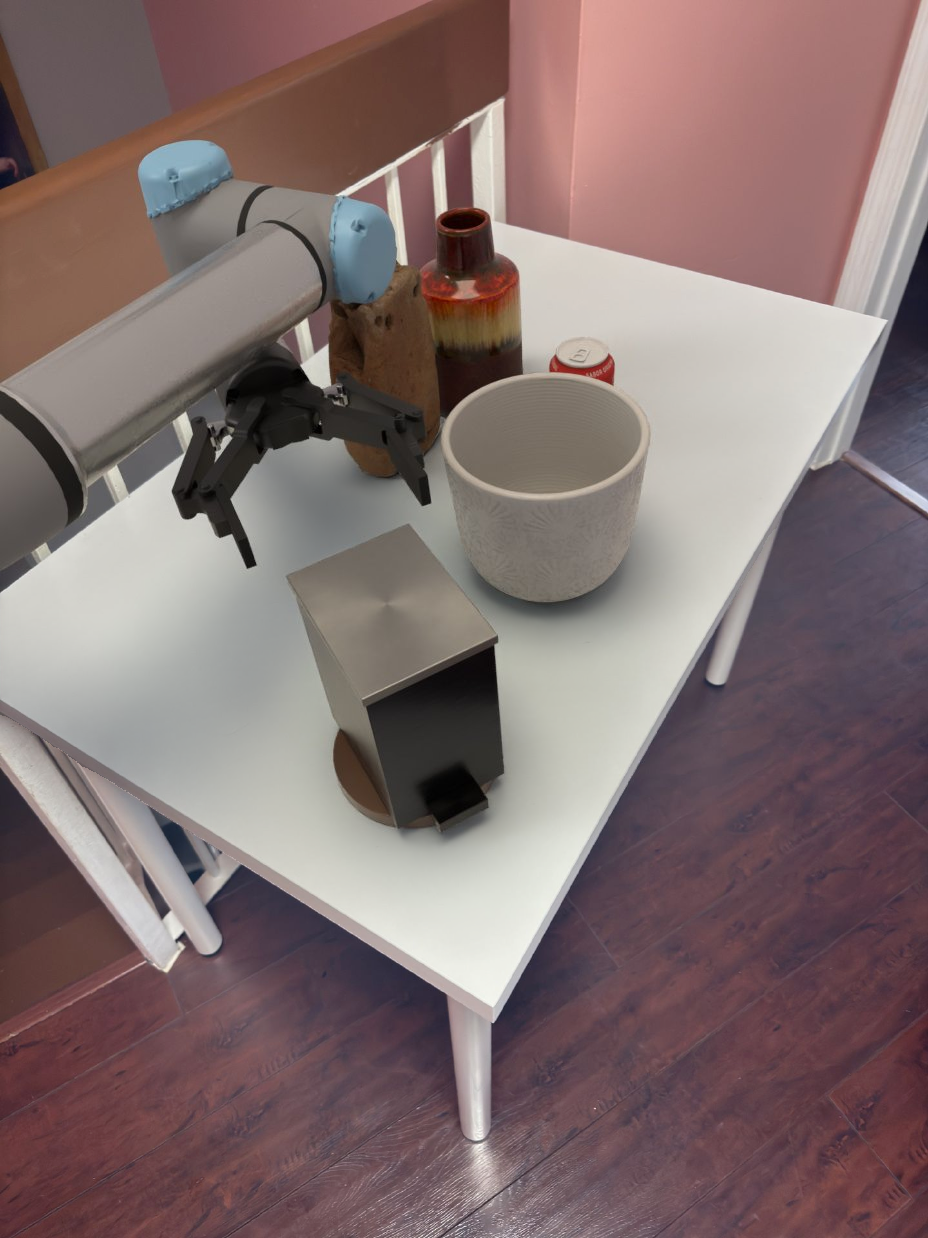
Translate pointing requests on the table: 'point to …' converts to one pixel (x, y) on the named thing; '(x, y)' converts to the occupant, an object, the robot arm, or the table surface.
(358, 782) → the disc
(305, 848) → the table surface
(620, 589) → the table surface
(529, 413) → the planter
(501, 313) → the vase
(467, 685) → the bin
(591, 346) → the beverage can
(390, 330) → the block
